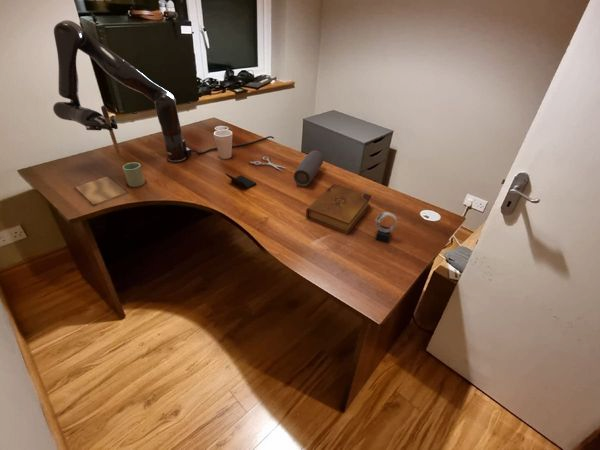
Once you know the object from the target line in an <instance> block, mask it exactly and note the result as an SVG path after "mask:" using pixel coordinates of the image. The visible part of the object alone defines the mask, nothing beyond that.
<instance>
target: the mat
mask: <svg viewBox="0 0 600 450" xmlns="http://www.w3.org/2000/svg"><path fill="white" fill-rule="evenodd" d="M75 189H76V190H77V191H78V192H79V193H80V194H81V195H82V196H83V197H84V198H85V199H86V200H87V201H88V202H89V203H90V204H91V205H92V206H96V205H97V204H99V203H102V202H104V201H106V200H110V199H113V198H115V197H117V196H120V195H123V194H126V193H127V191H125V189H123V188H122V187H121V186H120V185H119V184H117V183H116V182H115V181H113V179H111V178H110V177H109V176H104V177H101V178H98V179H95V180H92V181H89V182H86V183H83V184H80V185H77V186H75Z"/></svg>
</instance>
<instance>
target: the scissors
mask: <svg viewBox="0 0 600 450" xmlns="http://www.w3.org/2000/svg"><path fill="white" fill-rule="evenodd" d="M262 160H263V161H265V162H261V161H259V160H256V161H249V164H254V165H255V166H260V165H262V166H265V165H266V166H271V167H273V168H275V169H277V170H279V171H280V172H283V170H282V169H281V168H283V169H286V167H284V166H281V165H278V164H274V163H273V162H271V161H270V158H269V156H262Z"/></svg>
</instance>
